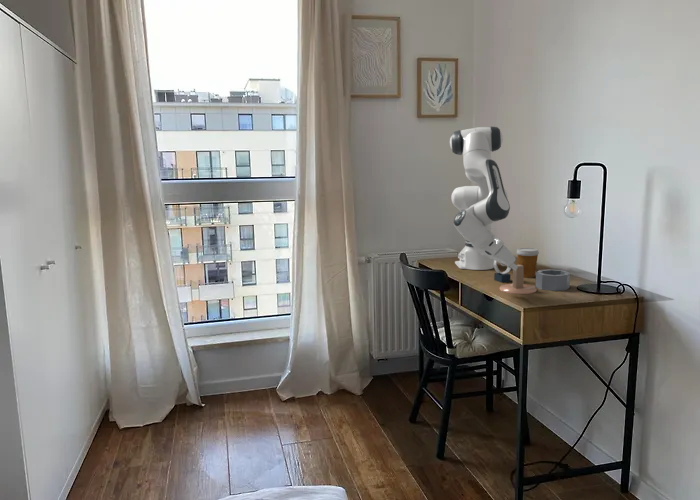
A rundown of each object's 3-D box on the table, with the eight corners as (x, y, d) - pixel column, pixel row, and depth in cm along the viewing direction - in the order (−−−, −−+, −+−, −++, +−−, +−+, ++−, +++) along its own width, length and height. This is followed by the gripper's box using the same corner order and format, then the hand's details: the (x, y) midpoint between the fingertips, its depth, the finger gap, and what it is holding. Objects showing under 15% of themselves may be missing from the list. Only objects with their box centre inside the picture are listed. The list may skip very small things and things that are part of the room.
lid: (493, 287, 231) (493, 263, 229) (524, 284, 234) (525, 261, 232) (510, 295, 217) (510, 270, 216) (543, 292, 220) (543, 267, 218)
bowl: (531, 284, 233) (531, 270, 232) (558, 282, 235) (558, 268, 234) (546, 291, 221) (547, 276, 220) (574, 289, 223) (575, 274, 222)
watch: (514, 281, 241) (514, 255, 239) (497, 283, 238) (498, 257, 237) (506, 278, 246) (507, 253, 244) (490, 280, 244) (490, 255, 242)
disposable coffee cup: (542, 277, 246) (543, 250, 244) (522, 279, 244) (523, 251, 242) (531, 273, 255) (531, 247, 253) (511, 274, 253) (512, 248, 251)
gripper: (470, 246, 229) (493, 268, 232) (492, 253, 209) (516, 277, 212) (481, 234, 229) (503, 256, 232) (503, 241, 209) (528, 265, 213)
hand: (510, 266), depth 222 cm, fingers open, 8 cm apart
